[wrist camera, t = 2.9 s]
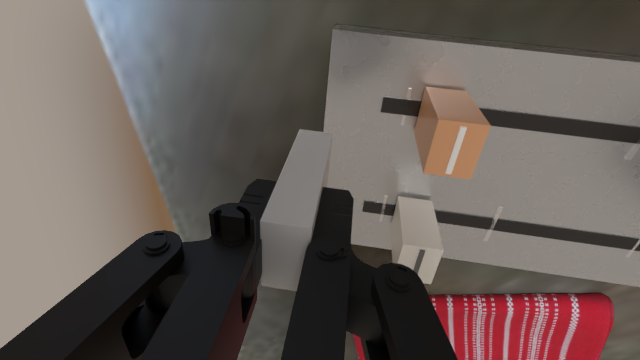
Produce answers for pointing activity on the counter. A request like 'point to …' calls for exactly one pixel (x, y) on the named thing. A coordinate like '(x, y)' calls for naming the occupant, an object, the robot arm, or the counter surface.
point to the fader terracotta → (449, 133)
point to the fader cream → (416, 237)
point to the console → (495, 149)
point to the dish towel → (523, 325)
